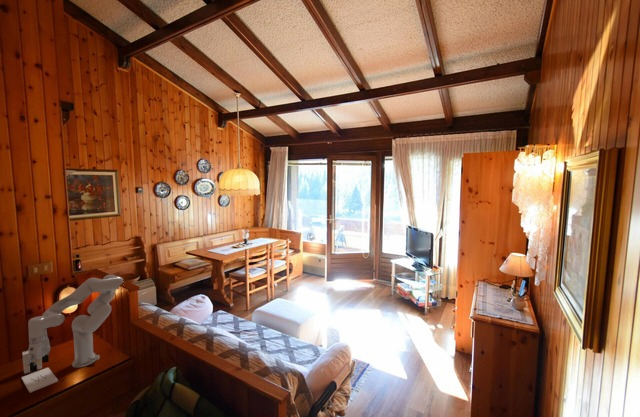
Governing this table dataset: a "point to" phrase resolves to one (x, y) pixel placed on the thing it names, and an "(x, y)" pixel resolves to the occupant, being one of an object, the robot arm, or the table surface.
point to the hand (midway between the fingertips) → (39, 366)
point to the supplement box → (39, 362)
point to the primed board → (39, 379)
